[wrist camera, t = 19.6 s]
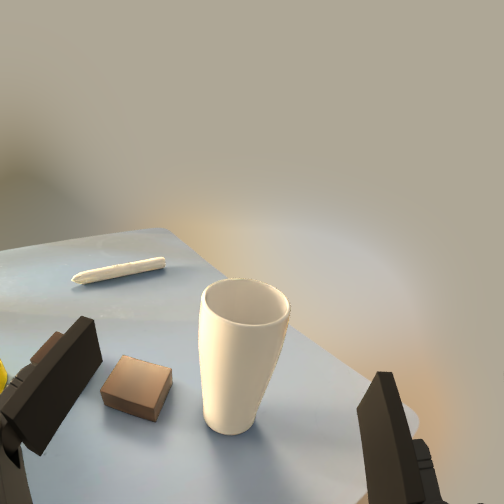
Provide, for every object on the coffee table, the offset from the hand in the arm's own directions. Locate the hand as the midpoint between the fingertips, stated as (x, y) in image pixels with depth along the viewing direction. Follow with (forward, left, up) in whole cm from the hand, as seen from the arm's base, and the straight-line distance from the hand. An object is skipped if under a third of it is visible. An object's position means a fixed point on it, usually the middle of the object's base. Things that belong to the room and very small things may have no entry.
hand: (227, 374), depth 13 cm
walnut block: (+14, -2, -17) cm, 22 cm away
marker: (+39, -13, -17) cm, 44 cm away
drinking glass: (+6, -8, -17) cm, 20 cm away
